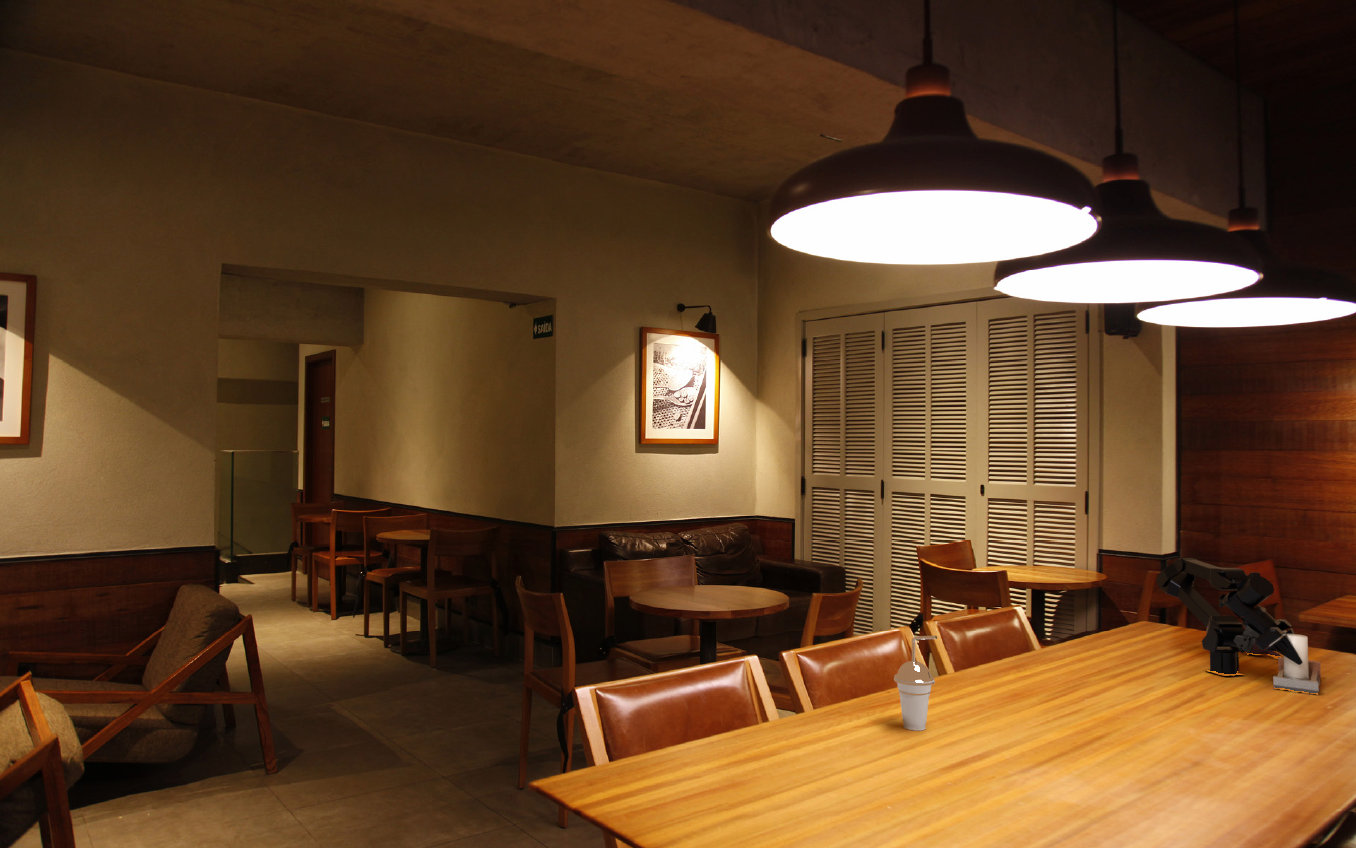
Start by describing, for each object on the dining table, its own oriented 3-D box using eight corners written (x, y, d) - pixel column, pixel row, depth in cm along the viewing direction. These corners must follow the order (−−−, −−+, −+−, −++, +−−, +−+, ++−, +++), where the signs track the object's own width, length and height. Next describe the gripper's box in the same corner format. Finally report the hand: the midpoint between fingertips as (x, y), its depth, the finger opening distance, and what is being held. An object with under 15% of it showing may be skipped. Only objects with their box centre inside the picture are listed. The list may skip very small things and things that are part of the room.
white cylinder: (1308, 687, 213) (1307, 638, 213) (1283, 684, 216) (1282, 635, 216) (1309, 683, 217) (1307, 635, 217) (1284, 680, 220) (1283, 632, 220)
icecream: (1218, 631, 258) (1274, 644, 245) (1230, 622, 262) (1286, 635, 249) (1219, 652, 259) (1275, 667, 246) (1231, 644, 263) (1287, 658, 250)
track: (1318, 695, 210) (1317, 676, 210) (1273, 689, 215) (1273, 671, 216) (1320, 678, 226) (1320, 661, 227) (1279, 673, 232) (1278, 656, 232)
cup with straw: (918, 719, 188) (918, 627, 189) (945, 732, 180) (944, 635, 181) (885, 723, 185) (885, 630, 186) (911, 736, 177) (911, 638, 178)
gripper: (1230, 626, 234) (1280, 674, 226) (1217, 636, 220) (1270, 687, 212) (1264, 600, 229) (1317, 648, 221) (1253, 608, 215) (1309, 660, 207)
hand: (1302, 661), depth 216 cm, fingers open, 7 cm apart
